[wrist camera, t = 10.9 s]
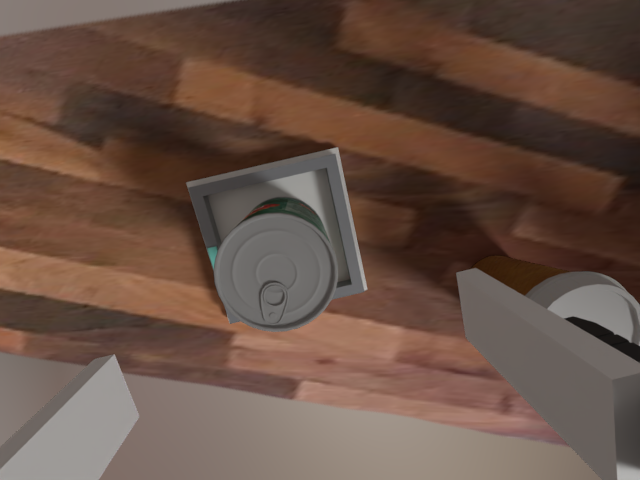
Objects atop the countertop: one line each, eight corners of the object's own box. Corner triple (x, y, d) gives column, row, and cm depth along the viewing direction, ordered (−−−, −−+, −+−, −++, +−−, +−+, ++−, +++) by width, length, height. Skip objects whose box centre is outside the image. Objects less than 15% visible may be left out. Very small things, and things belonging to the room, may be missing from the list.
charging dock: (336, 147, 32) (340, 146, 29) (365, 286, 35) (370, 296, 32) (188, 181, 32) (179, 183, 29) (230, 319, 35) (225, 330, 32)
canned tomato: (244, 192, 31) (216, 205, 21) (330, 201, 32) (345, 218, 21) (239, 274, 33) (210, 327, 22) (320, 282, 34) (330, 336, 23)
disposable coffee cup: (429, 284, 35) (495, 343, 24) (501, 220, 34) (606, 248, 23) (485, 343, 37) (570, 425, 26) (554, 284, 36) (677, 341, 25)
